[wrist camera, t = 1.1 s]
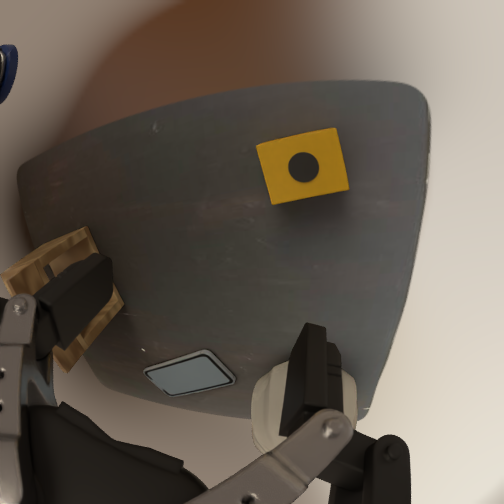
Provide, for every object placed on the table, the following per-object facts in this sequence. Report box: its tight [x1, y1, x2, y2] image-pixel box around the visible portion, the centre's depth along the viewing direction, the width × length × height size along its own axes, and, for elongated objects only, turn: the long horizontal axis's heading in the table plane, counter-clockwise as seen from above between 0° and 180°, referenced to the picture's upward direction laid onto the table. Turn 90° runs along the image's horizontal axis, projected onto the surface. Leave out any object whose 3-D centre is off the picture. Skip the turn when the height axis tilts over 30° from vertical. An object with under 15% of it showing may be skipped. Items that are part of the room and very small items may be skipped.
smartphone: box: [144, 350, 236, 397], centre depth 40 cm, size 7×1×15 cm
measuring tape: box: [256, 128, 349, 205], centre depth 22 cm, size 5×7×4 cm
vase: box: [251, 361, 358, 454], centre depth 30 cm, size 14×14×13 cm
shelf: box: [0, 226, 124, 373], centre depth 29 cm, size 12×12×14 cm
